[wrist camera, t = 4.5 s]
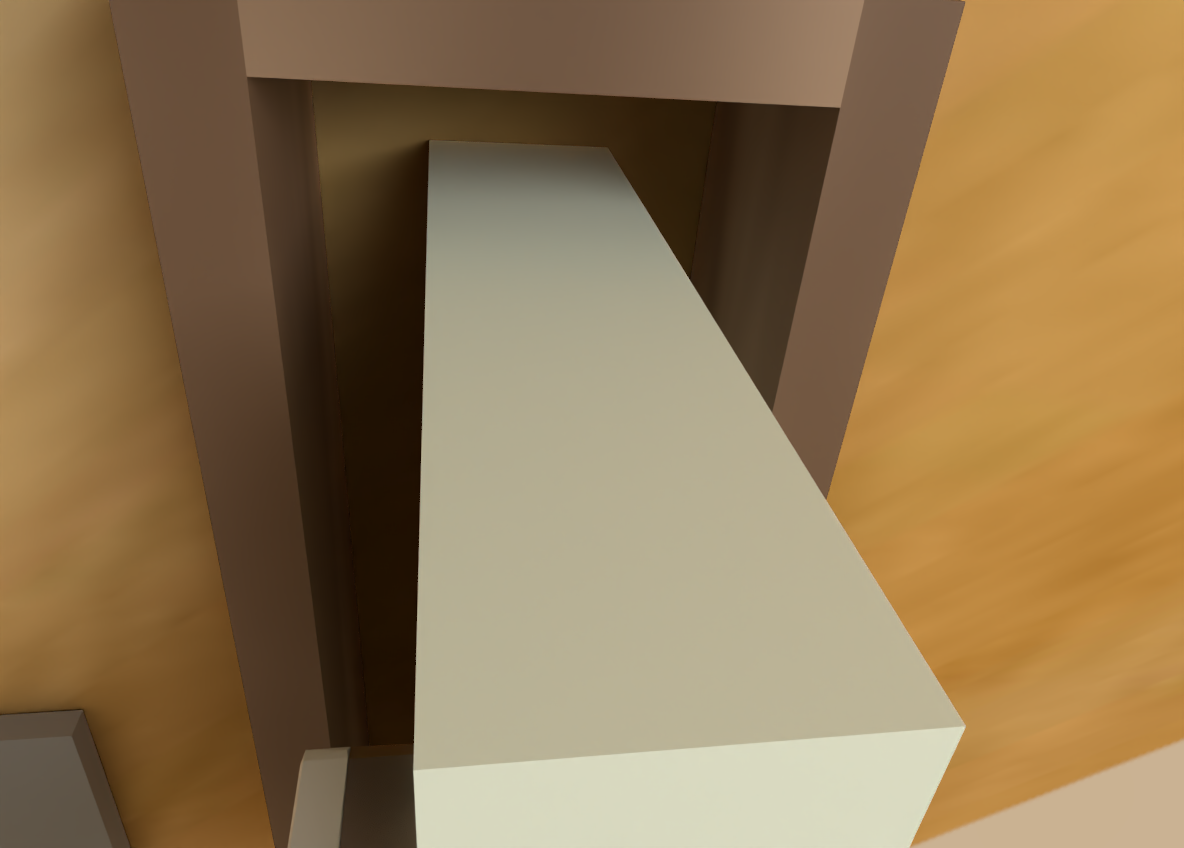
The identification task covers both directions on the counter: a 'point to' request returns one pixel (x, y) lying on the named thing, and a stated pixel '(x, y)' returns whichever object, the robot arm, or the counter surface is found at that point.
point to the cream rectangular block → (631, 554)
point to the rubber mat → (54, 785)
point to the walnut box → (500, 62)
